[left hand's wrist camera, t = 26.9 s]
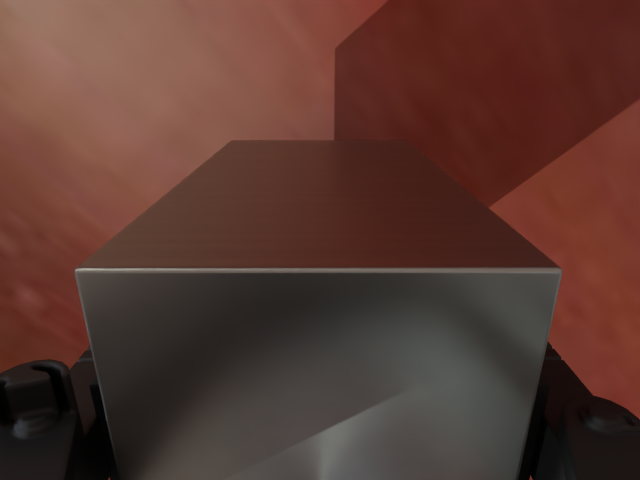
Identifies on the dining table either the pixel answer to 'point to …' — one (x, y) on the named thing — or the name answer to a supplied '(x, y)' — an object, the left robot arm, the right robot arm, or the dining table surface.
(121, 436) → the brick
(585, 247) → the dining table surface
